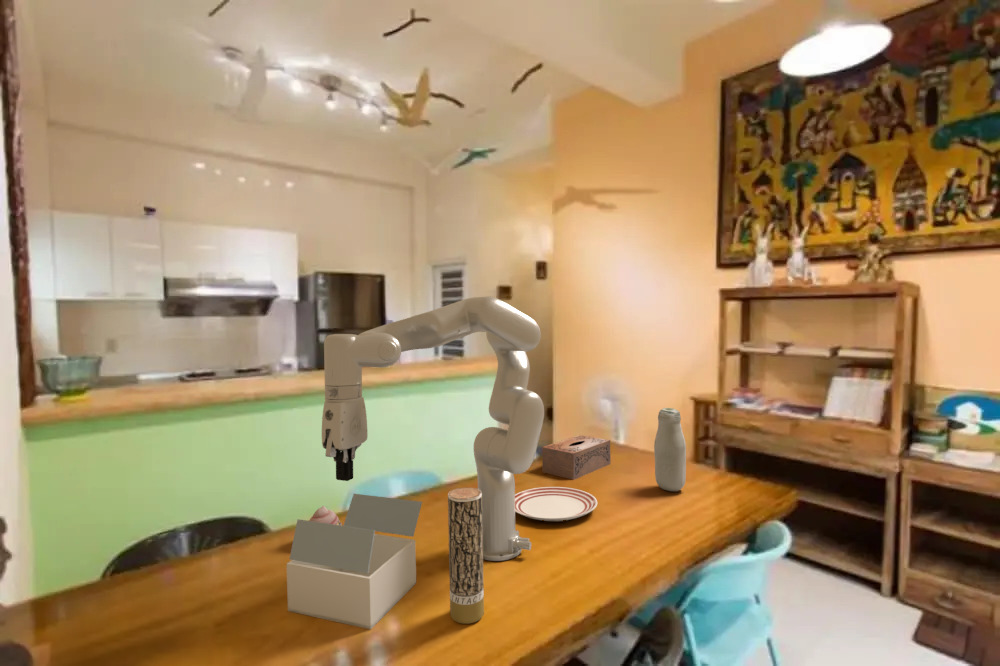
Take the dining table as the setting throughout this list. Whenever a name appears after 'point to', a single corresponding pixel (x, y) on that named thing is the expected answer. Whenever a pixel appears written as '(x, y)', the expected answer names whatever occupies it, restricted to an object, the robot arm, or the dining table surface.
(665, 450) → the glass bottle
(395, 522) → the flap far
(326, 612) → the carton
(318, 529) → the flap near
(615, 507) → the dining table surface
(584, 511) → the dinner plate
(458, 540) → the paper tube
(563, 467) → the tissue box cover
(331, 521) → the cupcake
